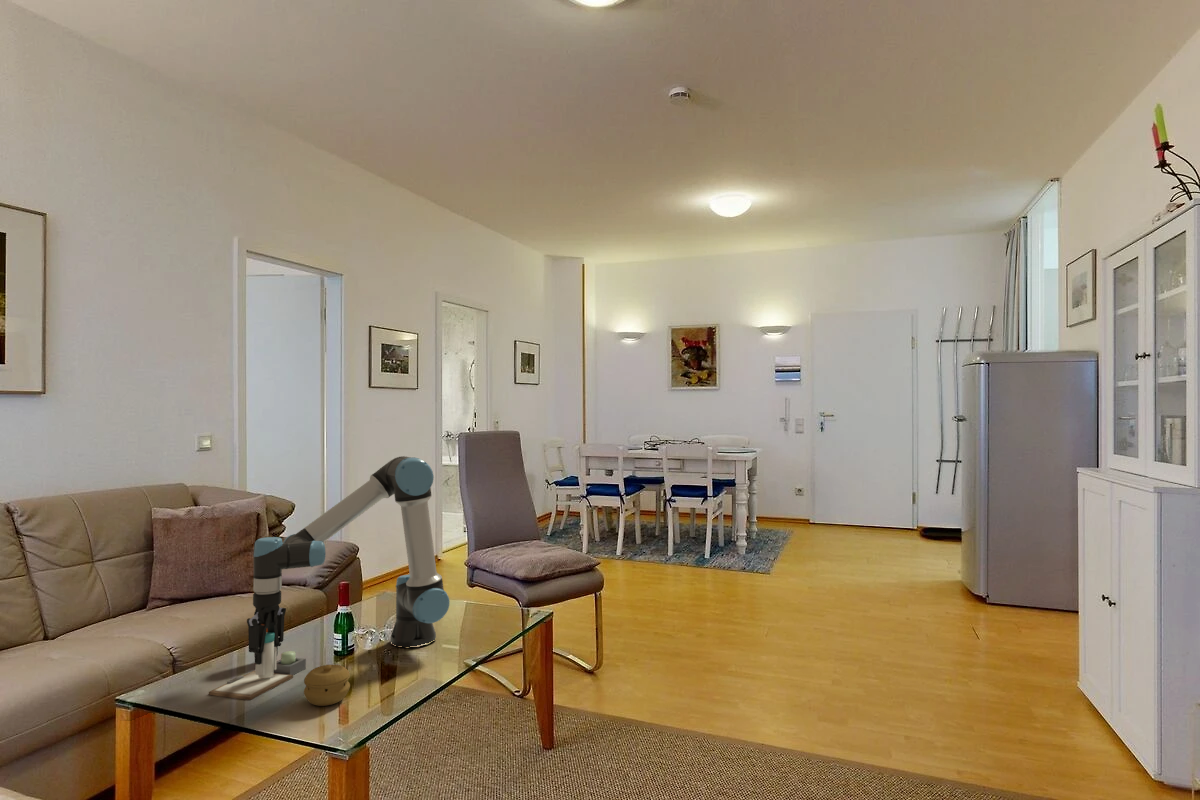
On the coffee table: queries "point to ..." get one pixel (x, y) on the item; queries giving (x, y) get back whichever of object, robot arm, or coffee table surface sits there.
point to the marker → (269, 655)
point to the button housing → (291, 667)
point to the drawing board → (249, 686)
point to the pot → (326, 685)
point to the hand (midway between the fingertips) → (266, 671)
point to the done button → (288, 657)
